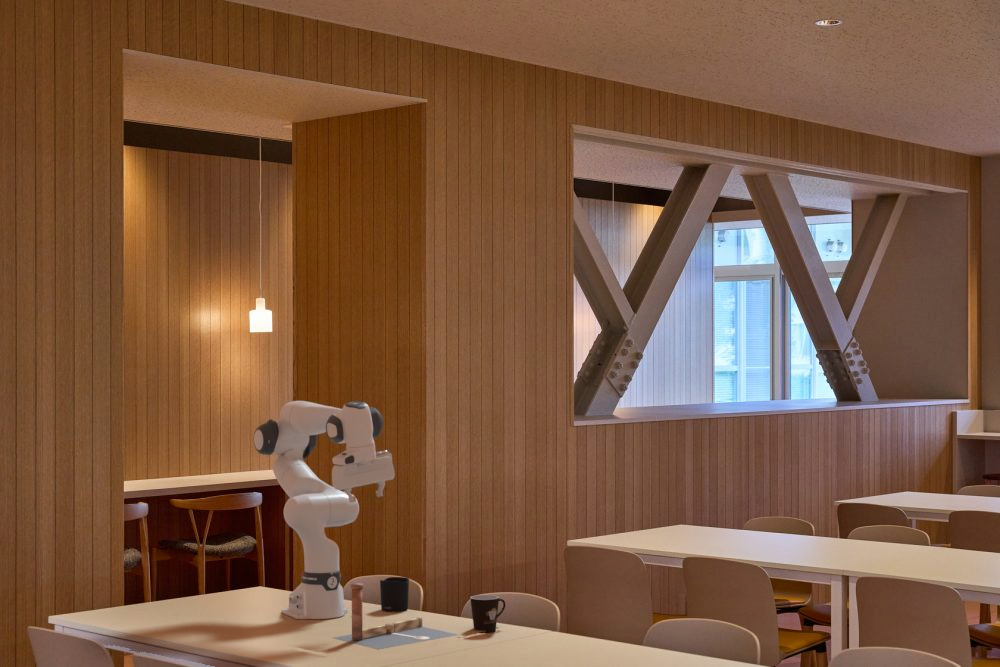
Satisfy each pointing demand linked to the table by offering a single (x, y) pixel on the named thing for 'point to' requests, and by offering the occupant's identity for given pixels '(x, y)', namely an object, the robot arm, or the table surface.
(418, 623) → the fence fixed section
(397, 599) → the pen holder
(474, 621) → the coffee mug
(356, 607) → the brown wooden l-shaped piece
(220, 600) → the table surface
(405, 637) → the board
